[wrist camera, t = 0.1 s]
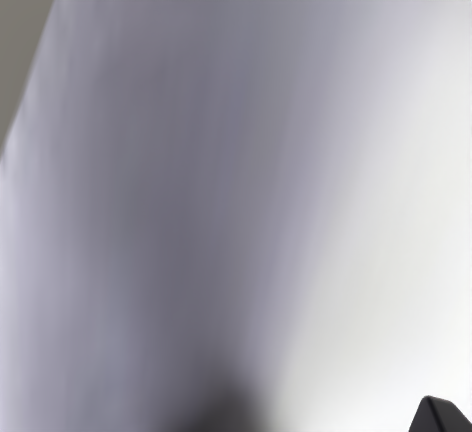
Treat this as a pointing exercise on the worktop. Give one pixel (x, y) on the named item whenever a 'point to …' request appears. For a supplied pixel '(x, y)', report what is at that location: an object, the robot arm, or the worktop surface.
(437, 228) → the worktop surface
